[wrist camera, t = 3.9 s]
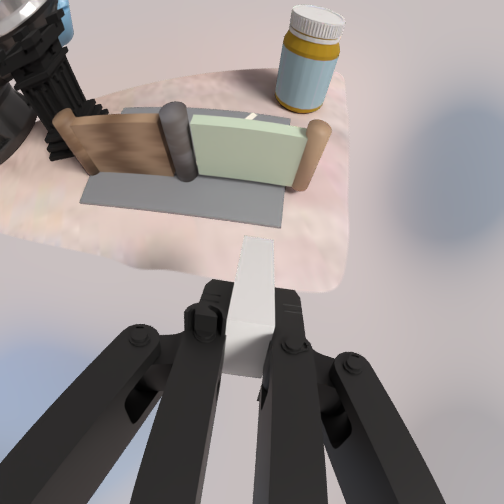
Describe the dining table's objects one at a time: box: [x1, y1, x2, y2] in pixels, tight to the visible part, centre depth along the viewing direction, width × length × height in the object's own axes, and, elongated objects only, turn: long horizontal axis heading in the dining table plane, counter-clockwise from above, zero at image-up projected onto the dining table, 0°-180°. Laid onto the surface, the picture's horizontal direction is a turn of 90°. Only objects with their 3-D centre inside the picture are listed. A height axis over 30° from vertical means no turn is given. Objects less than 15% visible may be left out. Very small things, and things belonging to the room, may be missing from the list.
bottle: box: [275, 5, 345, 113], centre depth 29 cm, size 7×7×15 cm
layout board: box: [80, 107, 290, 228], centre depth 31 cm, size 24×16×1 cm, turn 82°
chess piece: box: [0, 8, 109, 161], centre depth 23 cm, size 8×8×20 cm
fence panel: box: [190, 115, 332, 191], centre depth 25 cm, size 12×2×9 cm, turn 82°
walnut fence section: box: [52, 102, 198, 182], centre depth 25 cm, size 15×2×10 cm, turn 82°
